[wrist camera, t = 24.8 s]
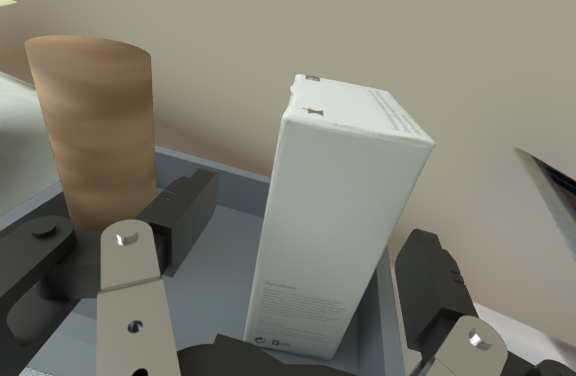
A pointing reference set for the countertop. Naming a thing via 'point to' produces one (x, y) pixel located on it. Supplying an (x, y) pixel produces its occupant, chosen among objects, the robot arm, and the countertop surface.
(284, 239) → the skincare box
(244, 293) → the tote
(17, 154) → the countertop surface
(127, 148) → the wooden cylinder
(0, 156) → the countertop surface
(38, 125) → the countertop surface
